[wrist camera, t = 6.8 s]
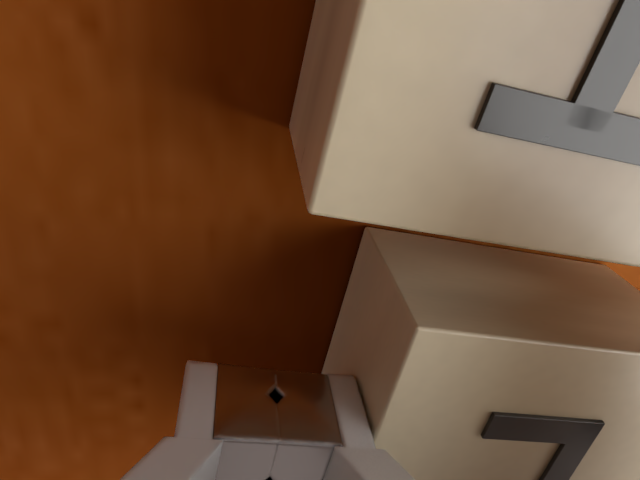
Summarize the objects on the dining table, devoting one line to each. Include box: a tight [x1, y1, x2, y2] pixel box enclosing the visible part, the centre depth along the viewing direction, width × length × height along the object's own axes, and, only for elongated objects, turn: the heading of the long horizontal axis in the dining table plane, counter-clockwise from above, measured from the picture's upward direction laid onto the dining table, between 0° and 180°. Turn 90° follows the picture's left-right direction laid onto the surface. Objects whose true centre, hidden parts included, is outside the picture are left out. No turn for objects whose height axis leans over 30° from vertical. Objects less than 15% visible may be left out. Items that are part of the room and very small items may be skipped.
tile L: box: [321, 227, 640, 480], centre depth 10 cm, size 6×6×3 cm
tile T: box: [289, 0, 640, 267], centre depth 6 cm, size 6×6×3 cm
